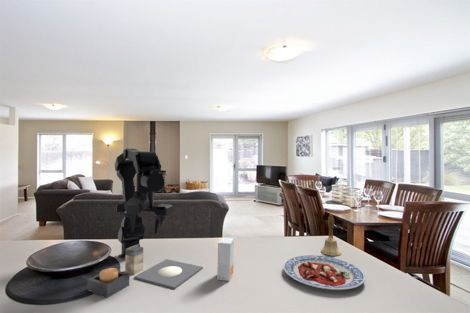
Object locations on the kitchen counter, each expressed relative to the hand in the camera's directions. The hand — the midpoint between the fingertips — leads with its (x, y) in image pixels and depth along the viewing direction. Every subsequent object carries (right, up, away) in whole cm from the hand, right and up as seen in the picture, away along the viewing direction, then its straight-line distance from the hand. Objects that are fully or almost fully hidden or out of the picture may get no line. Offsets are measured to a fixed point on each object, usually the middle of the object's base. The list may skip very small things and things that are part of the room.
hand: (144, 233), depth 91 cm
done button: (-6, -10, -12) cm, 17 cm away
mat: (+9, -13, -2) cm, 16 cm away
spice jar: (-3, -13, -1) cm, 13 cm away
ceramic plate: (+61, -14, -2) cm, 62 cm away
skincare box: (+28, -14, -4) cm, 31 cm away
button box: (-6, -13, -12) cm, 19 cm away
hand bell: (+72, -14, +20) cm, 76 cm away
